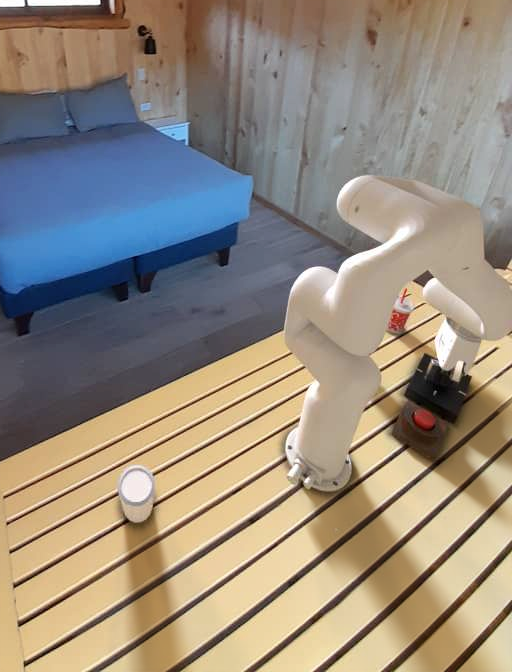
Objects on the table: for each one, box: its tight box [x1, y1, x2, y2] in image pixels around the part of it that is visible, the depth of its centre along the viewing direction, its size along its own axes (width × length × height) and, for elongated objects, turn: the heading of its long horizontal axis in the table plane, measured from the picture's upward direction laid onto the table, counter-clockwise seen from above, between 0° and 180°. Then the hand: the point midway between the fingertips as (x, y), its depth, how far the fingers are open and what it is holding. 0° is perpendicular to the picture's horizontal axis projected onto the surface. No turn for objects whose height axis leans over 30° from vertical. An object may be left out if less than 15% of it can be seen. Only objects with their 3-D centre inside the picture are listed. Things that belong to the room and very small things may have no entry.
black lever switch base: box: [403, 352, 473, 425], centre depth 95 cm, size 14×10×3 cm
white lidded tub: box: [117, 464, 156, 523], centre depth 74 cm, size 7×7×7 cm
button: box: [413, 408, 435, 430], centre depth 85 cm, size 4×4×2 cm
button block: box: [390, 398, 449, 462], centre depth 86 cm, size 10×8×4 cm
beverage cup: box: [386, 288, 415, 335], centre depth 110 cm, size 6×6×14 cm
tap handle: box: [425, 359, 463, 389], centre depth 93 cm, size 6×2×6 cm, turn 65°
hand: (441, 379), depth 94 cm, fingers closed on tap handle
